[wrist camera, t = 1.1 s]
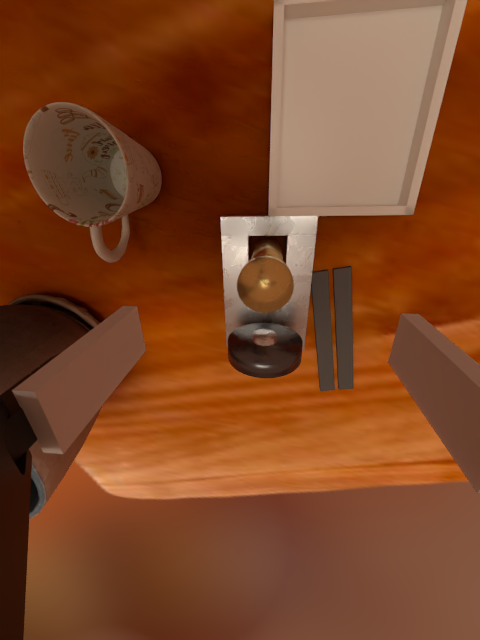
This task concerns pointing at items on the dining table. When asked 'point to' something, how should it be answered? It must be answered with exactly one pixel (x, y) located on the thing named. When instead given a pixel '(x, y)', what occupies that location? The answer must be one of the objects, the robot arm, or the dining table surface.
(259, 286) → the pin
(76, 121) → the mug
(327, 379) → the pair of grey strips
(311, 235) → the block
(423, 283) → the dining table surface
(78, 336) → the potted plant
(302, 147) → the tray
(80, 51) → the dining table surface
